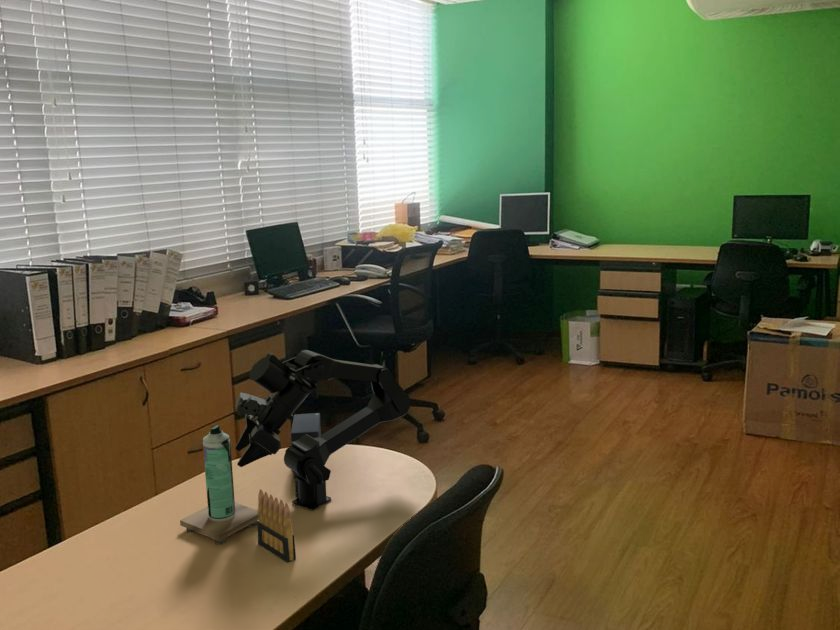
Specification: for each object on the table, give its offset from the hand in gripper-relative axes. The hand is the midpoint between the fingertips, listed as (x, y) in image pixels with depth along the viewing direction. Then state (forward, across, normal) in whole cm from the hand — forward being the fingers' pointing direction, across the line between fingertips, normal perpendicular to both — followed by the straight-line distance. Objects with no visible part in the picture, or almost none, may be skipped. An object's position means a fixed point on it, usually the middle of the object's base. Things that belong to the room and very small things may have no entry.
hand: (237, 457), depth 167 cm
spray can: (+11, +5, +4) cm, 13 cm away
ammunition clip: (+6, +18, +13) cm, 24 cm away
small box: (-2, -21, +22) cm, 30 cm away
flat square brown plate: (+13, +5, +6) cm, 15 cm away
